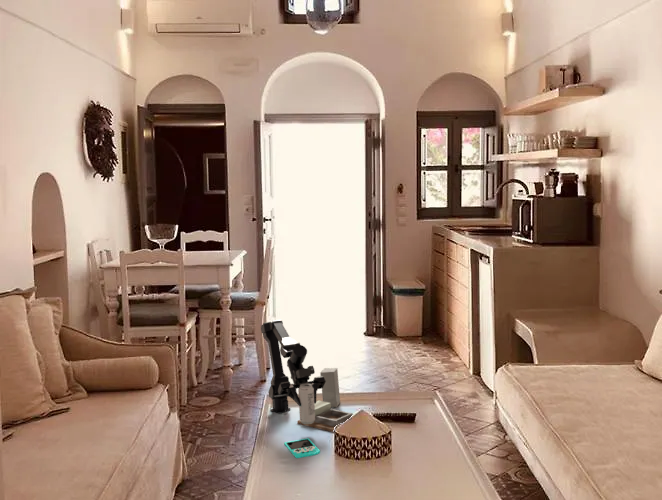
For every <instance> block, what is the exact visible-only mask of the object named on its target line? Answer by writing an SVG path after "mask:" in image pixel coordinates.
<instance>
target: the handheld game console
mask: <svg viewBox="0 0 662 500" xmlns="http://www.w3.org/2000/svg"><path fill="white" fill-rule="evenodd" d="M283 444H284V445H285V447H286V448H287V449H288V450H289V452H290V453H291V454H292V456H294V458H296V459H300V458H306V457H312V456H316V455H318V454H321V450H320V449H319V447H317V446H316V445H315V443H313V441H312V440H311V439H310V438H309V437H307V438H302V439H295V440H290V441H284V442H283Z"/></svg>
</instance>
